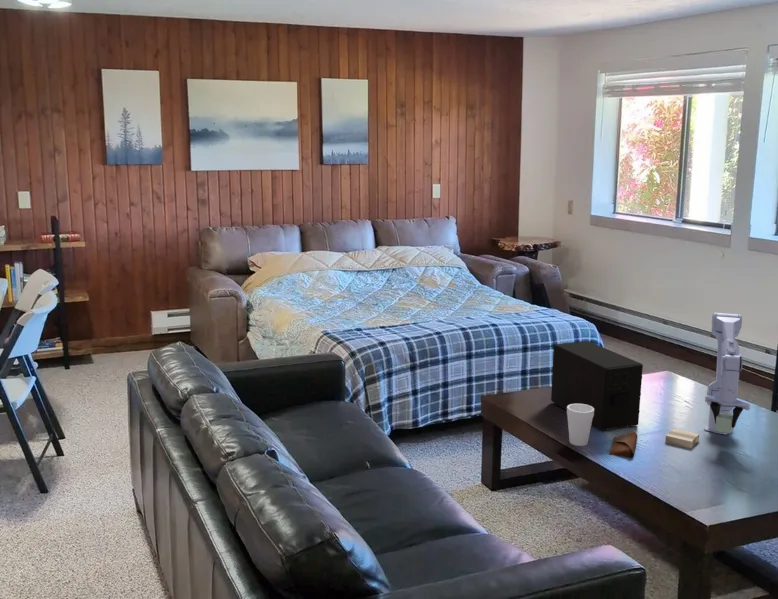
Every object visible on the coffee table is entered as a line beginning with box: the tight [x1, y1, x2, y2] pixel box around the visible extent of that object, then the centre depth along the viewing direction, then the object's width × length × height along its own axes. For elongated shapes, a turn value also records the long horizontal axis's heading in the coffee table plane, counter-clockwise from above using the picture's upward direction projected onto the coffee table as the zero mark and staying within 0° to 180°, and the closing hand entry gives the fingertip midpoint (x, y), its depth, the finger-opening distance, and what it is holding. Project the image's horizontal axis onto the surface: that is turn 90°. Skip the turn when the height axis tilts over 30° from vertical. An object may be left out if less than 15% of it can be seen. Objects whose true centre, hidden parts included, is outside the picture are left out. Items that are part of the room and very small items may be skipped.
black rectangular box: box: [550, 341, 644, 431], centre depth 309 cm, size 38×20×25 cm, turn 21°
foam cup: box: [566, 404, 594, 447], centre depth 283 cm, size 10×9×13 cm
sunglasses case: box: [608, 430, 638, 459], centre depth 279 cm, size 18×7×7 cm
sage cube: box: [715, 413, 735, 434], centre depth 279 cm, size 5×5×5 cm
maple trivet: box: [664, 428, 700, 449], centre depth 285 cm, size 9×9×3 cm
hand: (725, 424), depth 279 cm, fingers closed on sage cube, 5 cm apart
